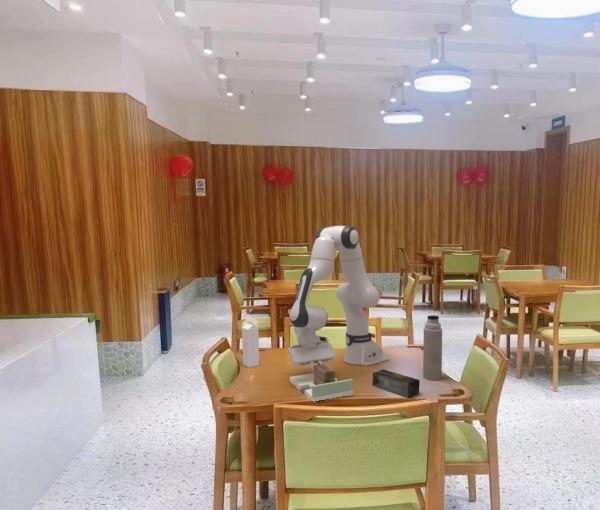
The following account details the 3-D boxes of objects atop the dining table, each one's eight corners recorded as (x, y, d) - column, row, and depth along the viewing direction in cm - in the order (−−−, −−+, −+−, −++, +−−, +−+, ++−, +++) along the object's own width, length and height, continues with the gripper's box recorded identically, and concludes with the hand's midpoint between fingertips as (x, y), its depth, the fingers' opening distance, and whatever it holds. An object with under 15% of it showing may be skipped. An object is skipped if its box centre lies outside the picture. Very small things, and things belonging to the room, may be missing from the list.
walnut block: (324, 381, 190) (324, 363, 190) (335, 389, 181) (335, 370, 180) (313, 383, 188) (313, 365, 188) (324, 392, 179) (324, 372, 178)
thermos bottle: (423, 373, 204) (424, 313, 202) (441, 375, 202) (442, 314, 199) (422, 379, 197) (423, 317, 194) (441, 381, 194) (442, 318, 192)
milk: (248, 367, 216) (247, 323, 213) (242, 364, 220) (241, 321, 218) (259, 365, 219) (258, 321, 217) (253, 361, 224) (252, 319, 222)
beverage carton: (383, 381, 196) (383, 366, 195) (420, 394, 181) (420, 378, 181) (371, 386, 191) (371, 371, 190) (409, 399, 176) (409, 383, 176)
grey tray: (325, 375, 204) (325, 361, 203) (353, 394, 181) (353, 379, 180) (289, 381, 197) (289, 367, 196) (313, 402, 174) (313, 386, 173)
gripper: (288, 342, 191) (297, 371, 183) (331, 337, 199) (341, 364, 191) (285, 350, 196) (293, 378, 188) (326, 344, 204) (336, 371, 196)
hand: (318, 371), depth 189 cm, fingers closed
